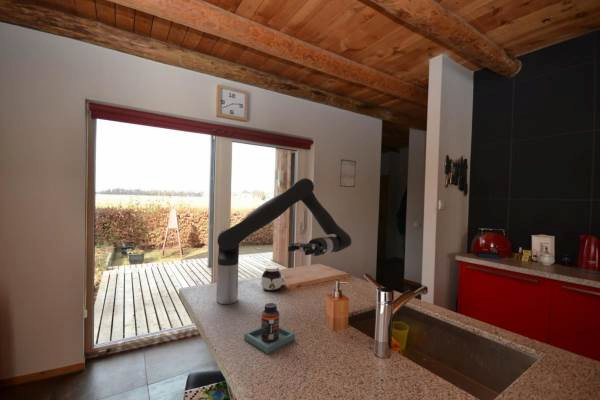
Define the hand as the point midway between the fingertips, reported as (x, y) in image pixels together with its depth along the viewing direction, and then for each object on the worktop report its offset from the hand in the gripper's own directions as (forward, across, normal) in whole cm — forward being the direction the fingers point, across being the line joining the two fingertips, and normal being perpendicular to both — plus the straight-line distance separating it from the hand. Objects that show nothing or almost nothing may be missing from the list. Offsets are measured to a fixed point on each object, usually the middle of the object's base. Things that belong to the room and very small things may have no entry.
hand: (297, 250), depth 107 cm
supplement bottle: (+16, +3, +27) cm, 32 cm away
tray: (+16, +3, +28) cm, 32 cm away
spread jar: (-22, -33, +28) cm, 48 cm away
